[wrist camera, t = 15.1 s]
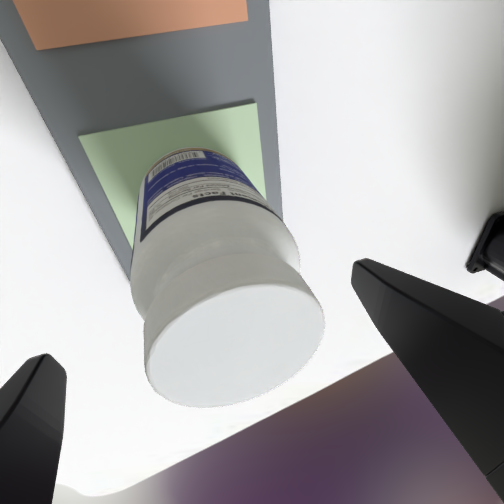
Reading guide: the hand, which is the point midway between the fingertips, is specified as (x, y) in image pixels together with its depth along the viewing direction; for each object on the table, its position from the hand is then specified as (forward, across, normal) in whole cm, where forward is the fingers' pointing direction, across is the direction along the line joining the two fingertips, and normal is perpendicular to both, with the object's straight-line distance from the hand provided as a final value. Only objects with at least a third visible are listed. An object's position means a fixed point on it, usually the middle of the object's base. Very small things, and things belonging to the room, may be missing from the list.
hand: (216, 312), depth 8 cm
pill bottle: (+8, 0, 0) cm, 9 cm away
